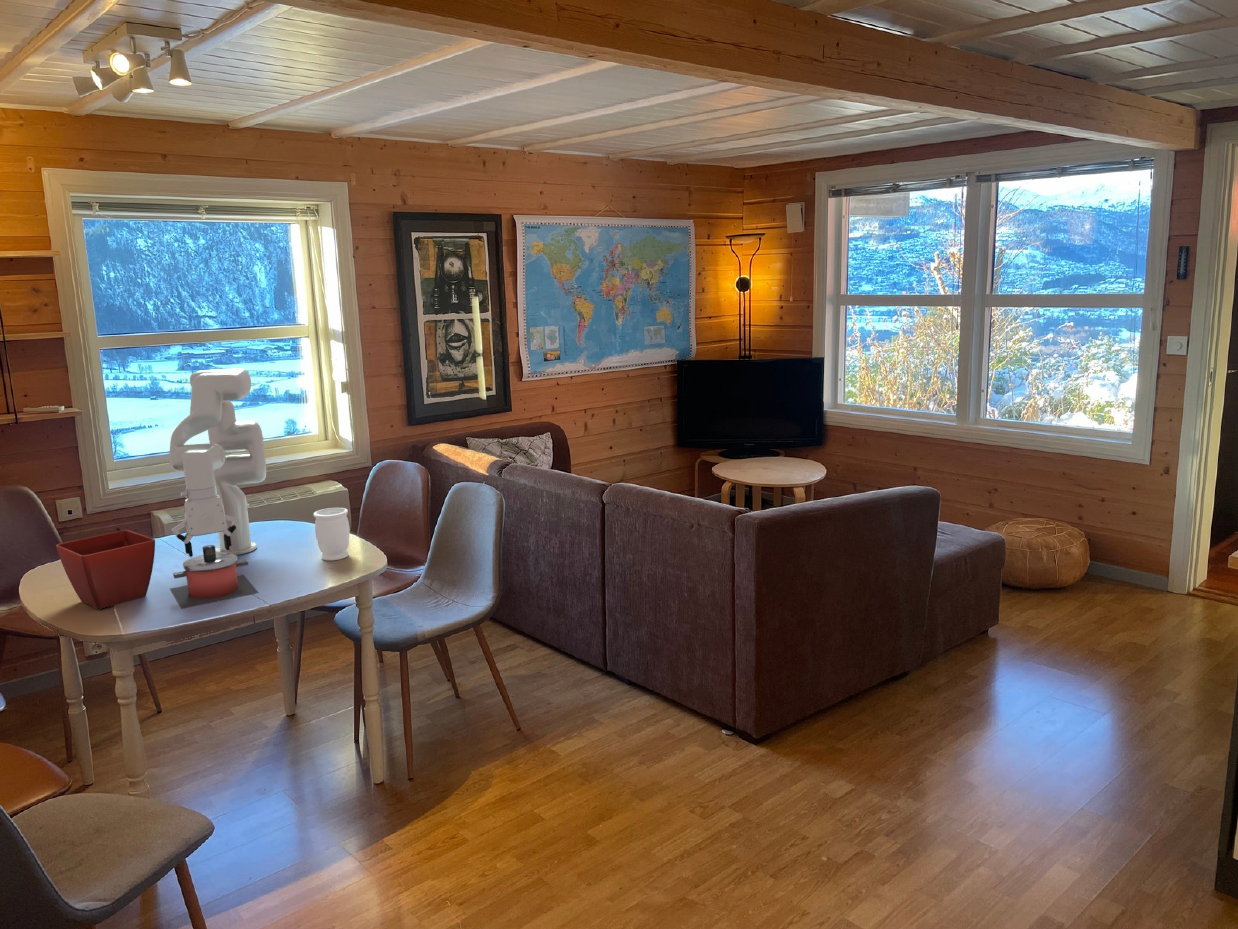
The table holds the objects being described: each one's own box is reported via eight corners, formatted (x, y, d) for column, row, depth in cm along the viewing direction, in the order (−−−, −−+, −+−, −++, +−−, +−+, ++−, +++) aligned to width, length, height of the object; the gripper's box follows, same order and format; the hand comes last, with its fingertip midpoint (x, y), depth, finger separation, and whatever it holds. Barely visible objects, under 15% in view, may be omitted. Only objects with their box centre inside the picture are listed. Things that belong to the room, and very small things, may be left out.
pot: (173, 591, 257) (169, 564, 255) (244, 577, 267) (241, 552, 266) (180, 604, 246) (177, 576, 245) (254, 589, 257) (251, 562, 255)
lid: (179, 562, 257) (177, 545, 256) (232, 553, 265) (230, 536, 264) (187, 575, 246) (185, 557, 245) (242, 565, 253) (240, 548, 252)
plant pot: (134, 583, 267) (126, 528, 263) (164, 596, 255) (156, 539, 251) (63, 602, 252) (54, 544, 249) (91, 617, 240) (82, 556, 237)
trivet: (170, 590, 260) (169, 588, 259) (243, 576, 270) (243, 574, 270) (181, 610, 243) (181, 608, 243) (259, 594, 254) (258, 592, 254)
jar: (345, 562, 282) (341, 515, 279) (313, 562, 282) (308, 516, 279) (356, 551, 292) (352, 506, 289) (324, 552, 293) (320, 507, 289)
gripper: (169, 501, 243) (177, 561, 247) (237, 491, 253) (244, 549, 256) (165, 495, 249) (173, 555, 253) (232, 486, 259) (238, 543, 262)
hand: (209, 552), depth 255 cm, fingers open, 9 cm apart
